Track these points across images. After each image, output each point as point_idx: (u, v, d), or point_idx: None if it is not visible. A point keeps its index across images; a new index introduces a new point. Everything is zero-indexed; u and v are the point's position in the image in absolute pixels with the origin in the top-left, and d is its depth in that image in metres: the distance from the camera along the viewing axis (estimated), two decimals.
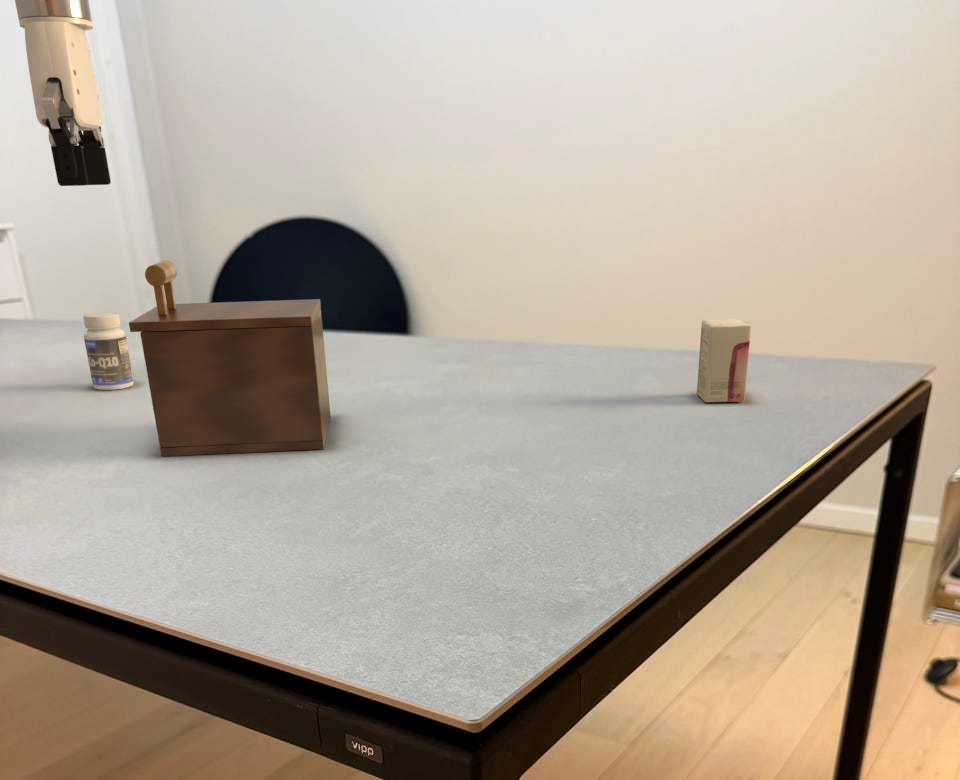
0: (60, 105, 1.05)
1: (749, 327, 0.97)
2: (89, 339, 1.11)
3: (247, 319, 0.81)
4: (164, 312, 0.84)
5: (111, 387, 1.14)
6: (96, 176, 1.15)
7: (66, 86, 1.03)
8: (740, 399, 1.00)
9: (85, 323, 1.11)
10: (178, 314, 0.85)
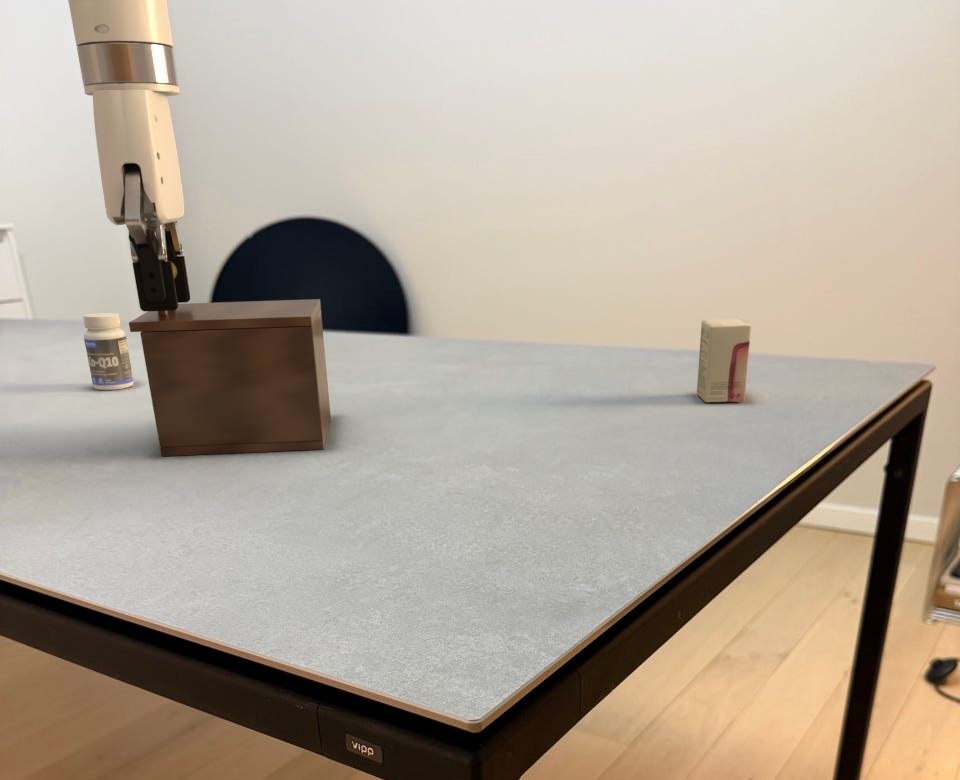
0: None
1: (749, 327, 0.97)
2: (89, 339, 1.11)
3: (247, 319, 0.81)
4: (164, 312, 0.84)
5: (111, 387, 1.14)
6: None
7: (147, 174, 0.77)
8: (740, 399, 1.00)
9: (85, 323, 1.11)
10: (178, 314, 0.85)
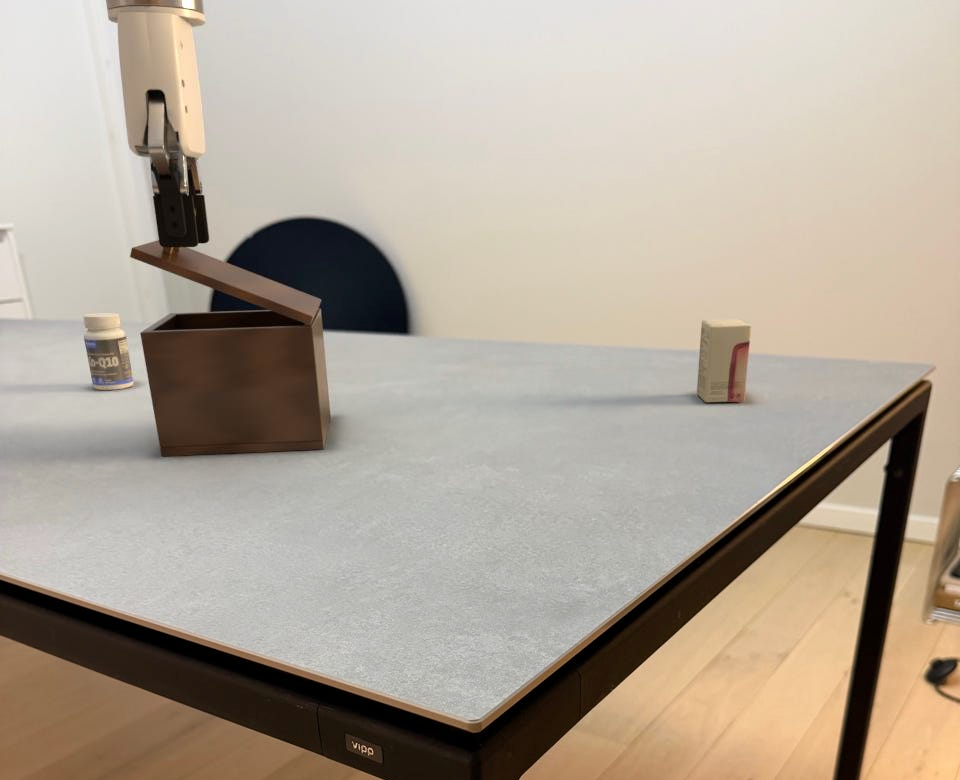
0: None
1: (749, 327, 0.97)
2: (89, 339, 1.11)
3: (250, 293, 0.81)
4: (169, 251, 0.82)
5: (111, 387, 1.14)
6: None
7: (171, 102, 0.75)
8: (740, 399, 1.00)
9: (85, 323, 1.11)
10: (182, 259, 0.83)
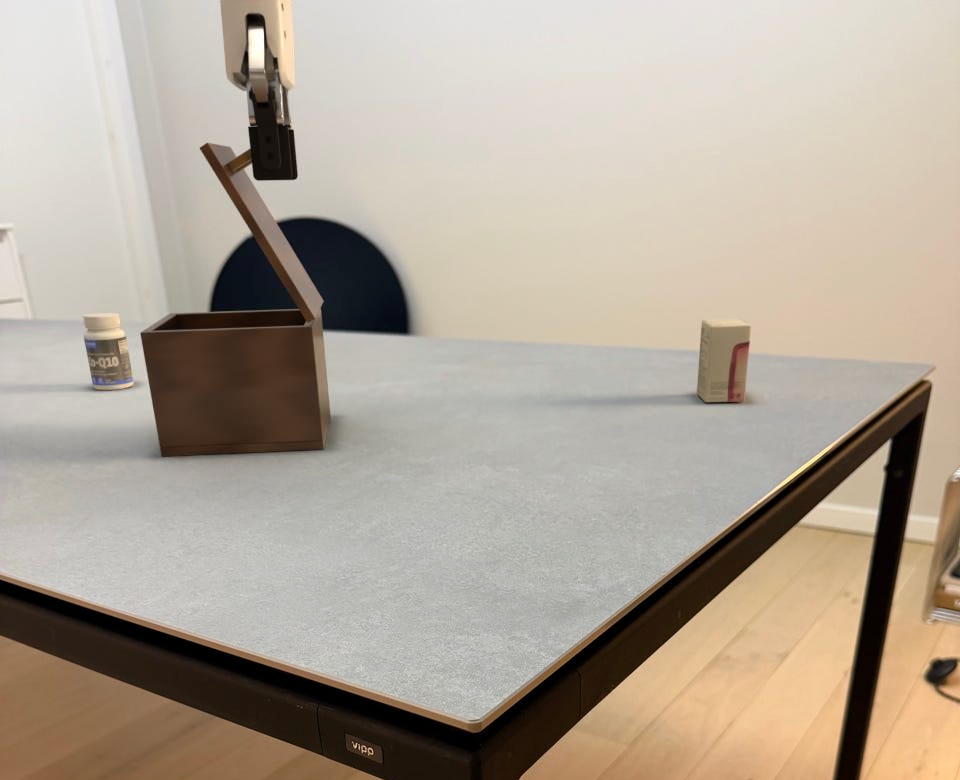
0: None
1: (749, 327, 0.97)
2: (89, 339, 1.11)
3: (278, 260, 0.80)
4: (233, 168, 0.80)
5: (111, 387, 1.14)
6: None
7: (271, 26, 0.74)
8: (740, 399, 1.00)
9: (85, 323, 1.11)
10: (239, 183, 0.81)
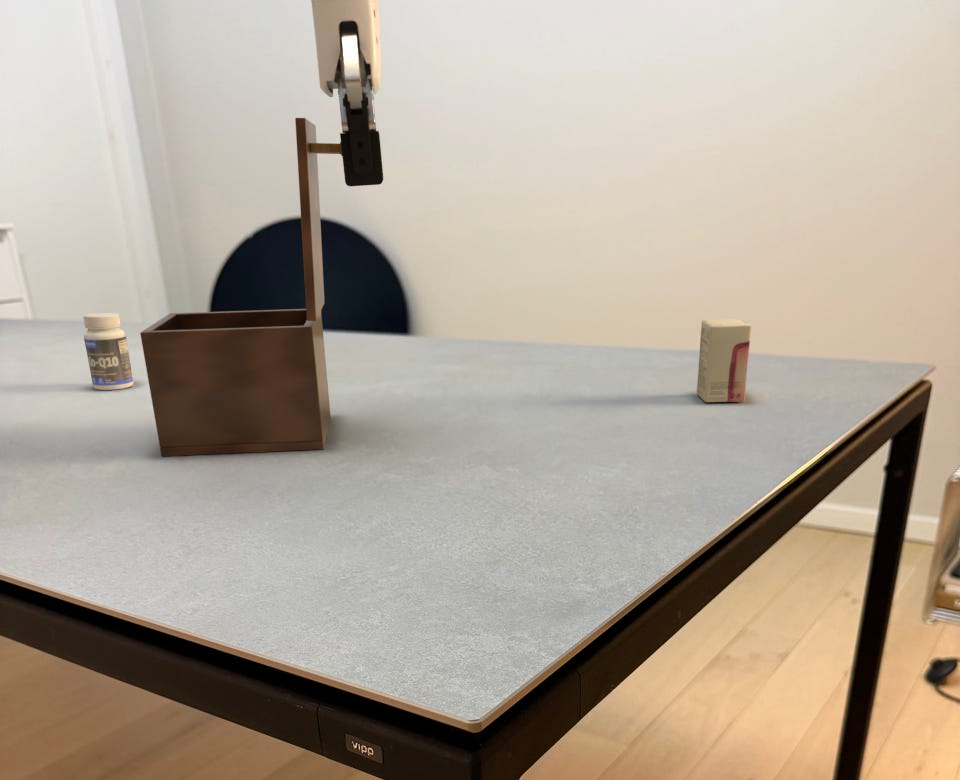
0: None
1: (749, 327, 0.97)
2: (89, 339, 1.11)
3: (311, 253, 0.80)
4: (313, 150, 0.80)
5: (111, 387, 1.14)
6: None
7: (364, 32, 0.74)
8: (740, 399, 1.00)
9: (85, 323, 1.11)
10: (311, 165, 0.81)
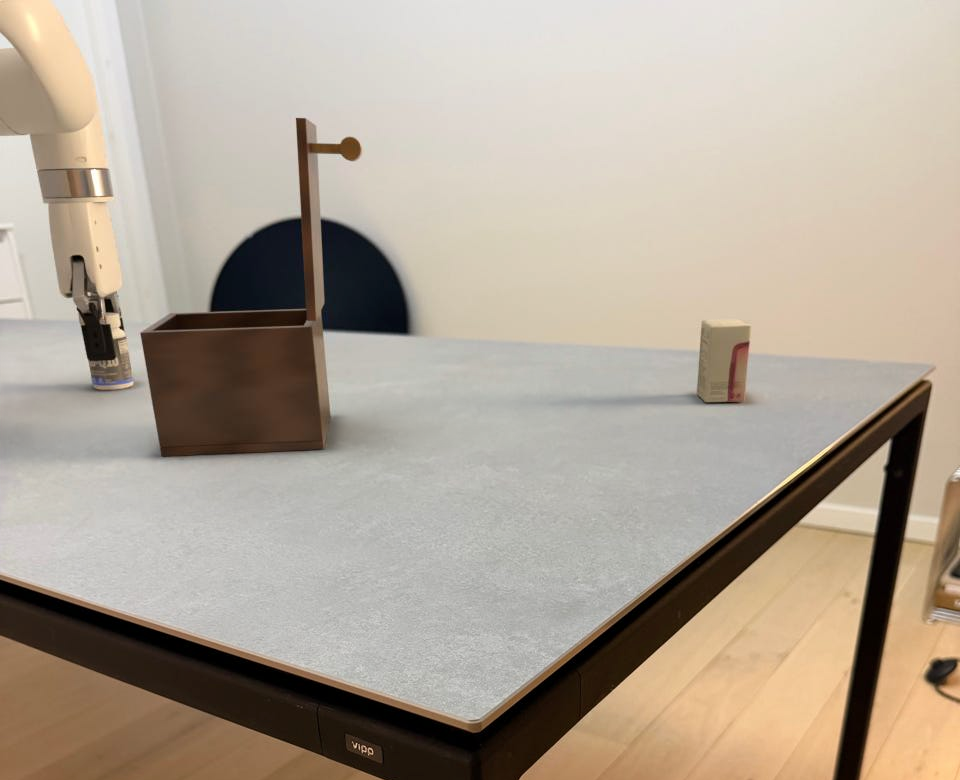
0: None
1: (749, 327, 0.97)
2: None
3: (311, 253, 0.80)
4: (313, 150, 0.80)
5: (111, 387, 1.14)
6: None
7: (89, 263, 1.05)
8: (740, 399, 1.00)
9: None
10: None
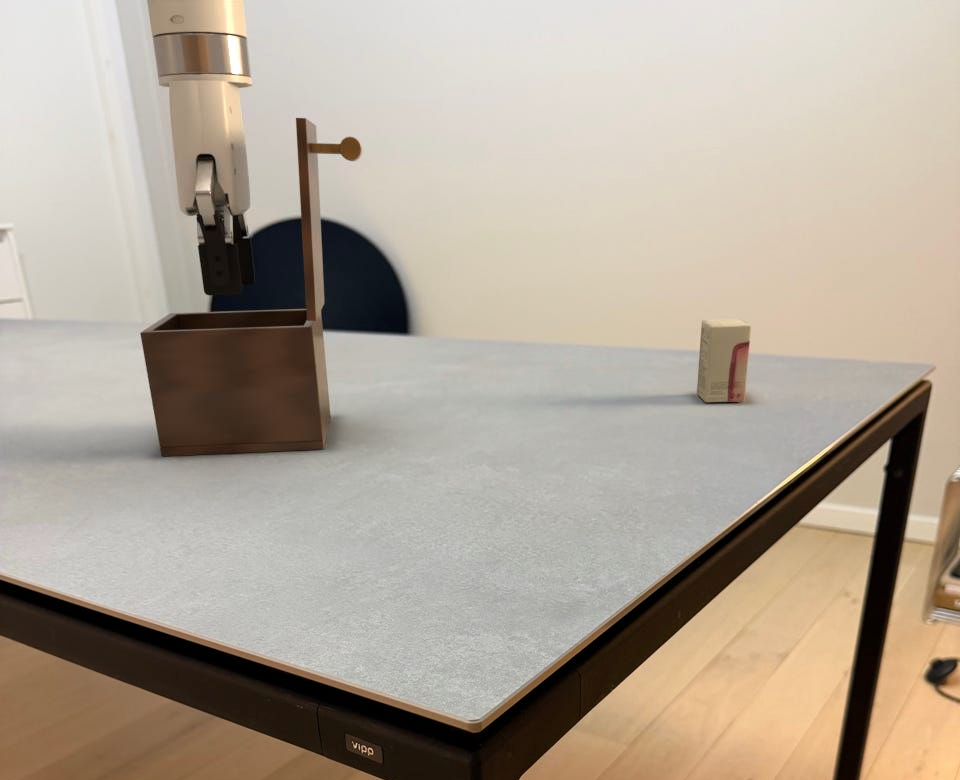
0: None
1: (749, 327, 0.97)
2: None
3: (311, 253, 0.80)
4: (313, 150, 0.80)
5: None
6: None
7: (221, 165, 0.77)
8: (740, 399, 1.00)
9: None
10: None
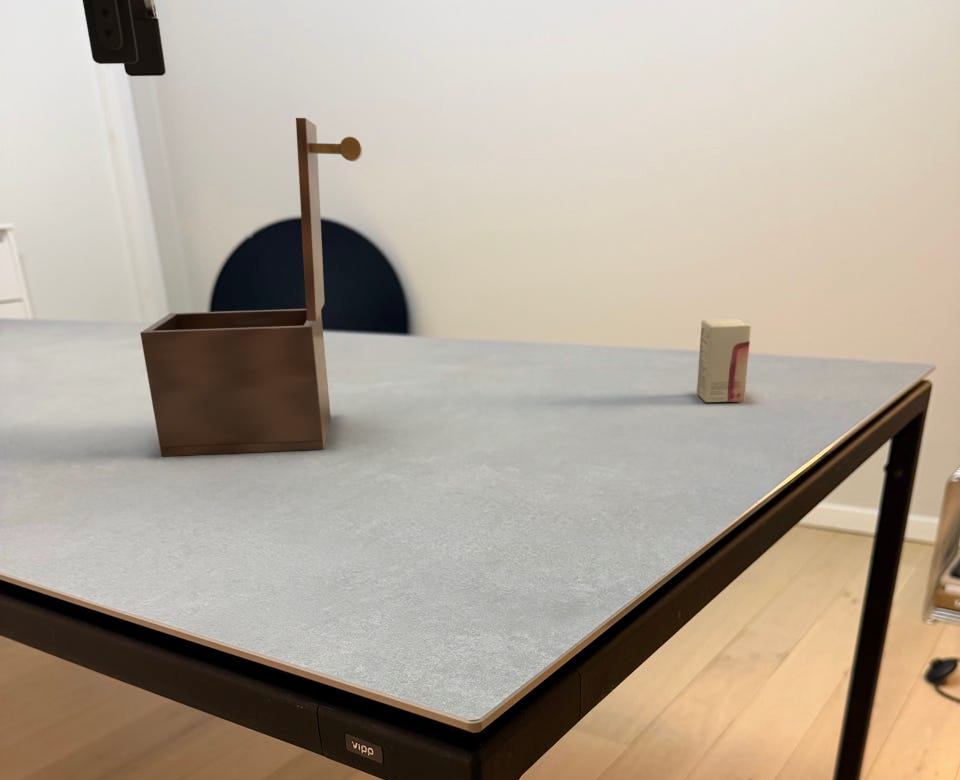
0: None
1: (749, 327, 0.97)
2: None
3: (311, 253, 0.80)
4: (313, 150, 0.80)
5: None
6: (145, 62, 0.78)
7: None
8: (740, 399, 1.00)
9: None
10: None
